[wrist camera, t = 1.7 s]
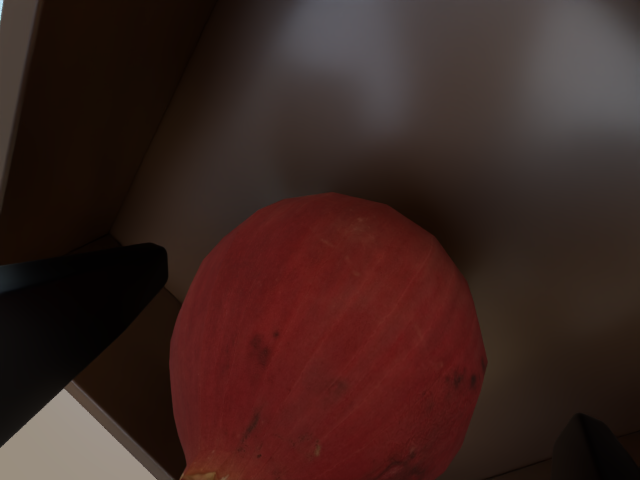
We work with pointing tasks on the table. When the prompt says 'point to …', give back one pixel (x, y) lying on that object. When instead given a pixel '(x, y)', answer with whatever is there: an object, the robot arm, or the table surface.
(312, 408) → the onion
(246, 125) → the open wooden box
